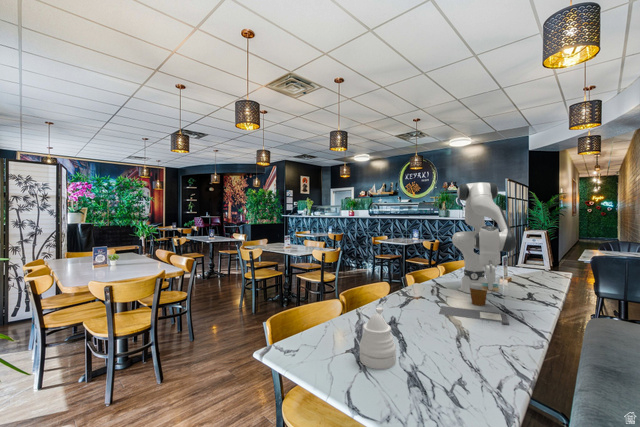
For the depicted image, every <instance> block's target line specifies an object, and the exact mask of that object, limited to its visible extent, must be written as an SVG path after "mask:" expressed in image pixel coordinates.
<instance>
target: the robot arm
mask: <svg viewBox="0 0 640 427" xmlns="http://www.w3.org/2000/svg"><path fill="white" fill-rule="evenodd" d="M456 190H457V191H456V195H457V198H458V199H459V200H460V201H463V202H464V201H465V204H464V222H465V223H466V224H467V226H470V227H471V228H472V227H473V228H474V231H470V230H469V231H465V230H464V231H458V232H455V233H453V235H452V238H451V242H452V244H453V246H454V247H456V248H457V249H458V250H459V251H460V253H461V254H462V257H463V263H464V269H463V276H462V277H461V280H460V281H461V286H460V287H458V291H460V292H463V293H467V294H470V295H471V293H470V287H469V284H470V283H471V282H480V283H488V289H489V290H493V284H496V268H498V265H500V264H501V252H505V253H510V252H512V251H513V250H515V249H516V248H517V238H516V236H515V234H514V233H513V231H512V229H511V226H510V224H509V222H508V220H507V217H506V215H505V212H504V210H503V208H502V207H501V206H498V205H497V204H496V203H495V202H494V200H496V199H497V197H498V195H499V188H498V185H497V184H496V183H495V182H490V181H489V182H482V181H481V182H480V181H479V182H477V181H476V182H470V183H461V184H459V186H458V188H457V189H456ZM485 218H488V219H490V220H494V222H496V223H497V226H498V227H496V226H494V225H486V222H485V221H486V220H485ZM474 249H477V250H479V254H478V253H477V252H475V251H474ZM487 294H492V291H487Z"/></svg>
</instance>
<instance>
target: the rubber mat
mask: <svg viewBox="0 0 640 427" xmlns="http://www.w3.org/2000/svg"><path fill="white" fill-rule="evenodd" d="M438 314H439V315H443V316H451V317H458V318H464V319H465V318H466V319H473V320H481V321H489V322H496V323H501V325H503V326H510V324H509V323H510V322H509V319H508V316H507V313H503V312H495V311H488V310H487V311H486V310H478V309H471V308H469V309H468V308H461V307H453V306H445V305H441V306H440V308H439V311H438Z"/></svg>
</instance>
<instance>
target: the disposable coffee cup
mask: <svg viewBox="0 0 640 427" xmlns="http://www.w3.org/2000/svg"><path fill="white" fill-rule="evenodd" d="M469 287H470V293H471V294H470V293H469V294H470V299H471V304H472V305H474V306H480V307H484V306H485V305H486V303H487V302H486V300H487V291H486V290H482V283H480V282H471V283H470V284H469Z"/></svg>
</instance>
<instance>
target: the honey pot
mask: <svg viewBox="0 0 640 427" xmlns="http://www.w3.org/2000/svg"><path fill="white" fill-rule="evenodd" d="M375 310H376V313H373V314H372V315H371V316H370V318H369V319H368V321H367V322H366V323H364V324H363V325H362V328H363V330H364V332H363V333H362V337H361V340H360V343H359V361H360V362H361V363H362V365H364V366H366V367H367V368H371V369H376V370H385V369H391V368H393V367H394V366H395V365H397V364H396V363H397V352H396V351H397V347H396V346H397V345H396V344H395V341H394V337H393V334H392V333H391V331H392V326H391V325H389V324H388V323H387V322H386V320H385V318H384V317H383V316H382V313H383V312H384V311H383V310H384V307H380V306H379V307H376V308H375Z"/></svg>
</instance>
